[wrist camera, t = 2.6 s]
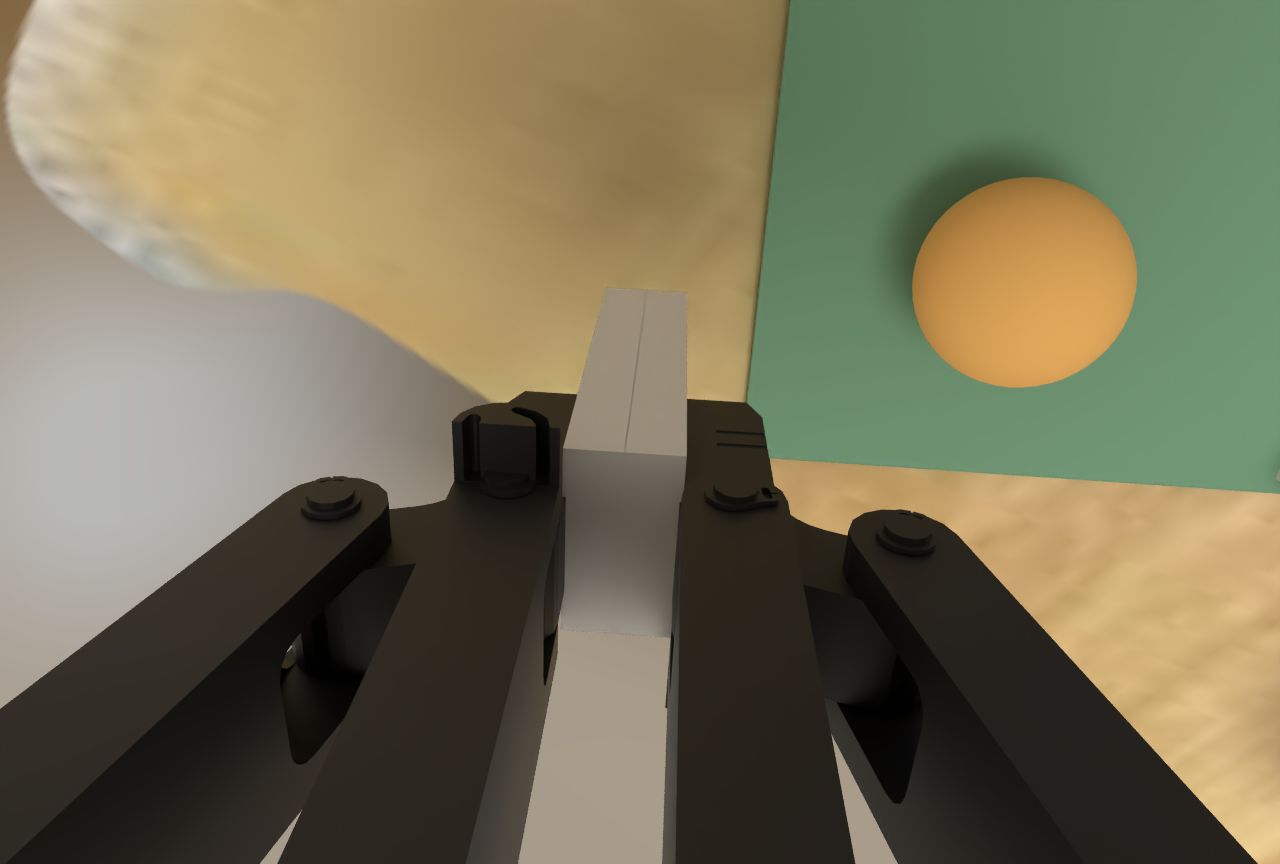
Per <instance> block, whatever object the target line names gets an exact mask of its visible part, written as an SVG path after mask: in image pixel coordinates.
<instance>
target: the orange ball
mask: <svg viewBox="0 0 1280 864" xmlns="http://www.w3.org/2000/svg"><path fill="white" fill-rule="evenodd" d="M1136 286H1137V265H1136V259H1135V255H1134V250H1133V246H1132V244H1131V241H1130V239H1129V236H1128V234H1127V232H1126V231H1125V229H1124V227H1123V226H1122V224H1121V222H1120V221H1119V219H1118V218H1117V217H1116V215H1115V214H1114V213H1113V212H1112V211H1111V209H1109V208H1108V207H1107V206H1106V205H1105V204H1104V203H1103V202H1101V201H1100V200H1099V199H1098V198H1097V197H1095V196H1094V195H1092V194H1090V193H1089V192H1087V191H1086V190H1084V189H1081V188H1079V187H1077V186H1075V185H1072V184H1069V183H1067V182H1063V181H1059V180H1056V179H1050V178H1042V177H1021V178H1013V179H1007V180H1003V181H999V182H995V183H992V184H990V185H987V186H984V187H982V188H980V189H978V190H976V191H974V192H972V193H970V194H968V195H967V196H965V197H964V198H963V199H961V200H960V201H958V202H957V203H955V204H954V205H953V206H952V207H951V208H950V209H949V210H947V211H946V212H945V213H944V214H943V215H942V217H941V218H940V219H939V220H938V221H937V222H936V223H935V225H934V226H933V228H932V229H931V231H930V232H929V233H928V235H927V237H926V239H925V241H924V242H923V244H922V246H921V249H920V251H919V254H918V256H917V259H916V263H915V267H914V272H913V281H912V293H913V304H914V310H915V314H916V317H917V320H918V323H919V325H920V328H921V330H922V332H923V334H924V336H925V338H926V339H927V341H928V342H929V344H930V345H931V346H932V348H933V349H934V350H935V351H936V352H937V353H938V355H939V356H940V357H941V358H942V359H943V360H944V361H945V362H947V363H948V364H949V365H951V366H952V367H953V368H955V369H956V370H958V371H960V372H961V373H963V374H965V375H966V376H968V377H970V378H973V379H975V380H978V381H980V382H984V383H988V384H992V385H996V386H1002V387H1010V388H1024V387H1033V386H1040V385H1045V384H1049V383H1053V382H1056V381H1059V380H1062V379H1065V378H1067V377H1069V376H1071V375H1073V374H1075V373H1077V372H1079V371H1080V370H1082V369H1084V368H1085V367H1087V366H1088V365H1090V364H1091V363H1092V362H1094V361H1095V360H1096V359H1097V358H1099V357H1100V356H1101V355H1102V354H1103V353H1104V352H1105V351H1106V350H1107V349H1108V348H1109V347H1110V345H1111V344H1112V343H1113V342H1114V341H1115V339H1116V338H1117V336H1118V335H1119V333H1120V332H1121V330H1122V329H1123V327H1124V325H1125V323H1126V321H1127V319H1128V317H1129V314H1130V311H1131V309H1132V306H1133V302H1134V298H1135V293H1136Z"/></svg>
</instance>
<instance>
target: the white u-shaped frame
mask: <svg viewBox="0 0 1280 864" xmlns="http://www.w3.org/2000/svg"><path fill="white" fill-rule="evenodd" d="M1276 479H1277V480H1278V481H1280V469H1279V471H1278V474H1277V476H1276Z"/></svg>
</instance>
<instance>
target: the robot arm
mask: <svg viewBox="0 0 1280 864" xmlns="http://www.w3.org/2000/svg"><path fill="white" fill-rule="evenodd" d="M452 435H453V456H454V476H455V477H454V480H455V481H454V483H453V485H452V487H451V489H450V492H449V494H448V496H447V498H446V500H443V501H440V502H437V503H433V504H428V505H422V506H416V507H407V508H398V509H389V503H388V497H387V492H386V491H385V490H384V489H382V488H381V487H380V486H379V485H378V484H376V483H373V482H369V481H367V480H364V479H358V478H347V477H344V476H338V477H336V476H334V477H333V478H330V477H326V478H320V479H317V480H315V481H312V482H308V483H305V484H301V485H299V486H297V487H295V488H293V489H291V490H289V491H288V492H286V493H284V494H283V495H281V496H280V497H279V498H277V499H276V500H275V501H273V502H272V503H271V504H269V505H268V506H267V507H265V508H264V509H263V510H261V511H260V512H259V513H258V514H256V515H255V516H254V517H252V518H251V519H250V520H248V521H247V522H246V523H245V524H243V525H242V526H240V527H239V528H238V529H236V530H235V531H234V532H233V533H231V534H230V535H229V536H227V537H226V538H225V539H223V540H222V541H221V542H220V543H218V544H217V545H215V546H214V547H213V548H211V549H210V550H209V551H208V552H206V553H205V554H204V555H202V556H201V557H200V558H198V559H197V560H196V561H194V562H193V563H192V564H190V565H189V566H188V567H186V568H185V569H184V570H183V571H181V572H180V573H179V574H177V575H176V576H175V577H173V578H172V579H171V580H169V581H168V582H167V583H165V584H164V585H163V586H161V587H160V588H159V589H158V590H156V591H155V592H154V593H152V594H151V595H150V596H148V597H147V598H146V599H144V600H143V601H142V602H140V603H139V604H138V605H136V606H135V607H134V608H133V609H131V610H130V611H129V612H127V613H126V614H125V615H123V616H122V617H121V618H119V619H118V620H117V621H115V622H114V623H113V624H111V625H110V626H109V627H108V628H106V629H105V630H104V631H102V632H101V633H100V634H98V635H97V636H96V637H95V638H93V639H92V640H90V641H89V642H88V643H86V644H85V645H84V646H83V647H81V648H80V649H79V650H77V651H76V652H75V653H73V654H72V655H71V656H69V657H68V658H67V659H65V660H64V661H63V662H62V663H60V664H59V665H58V666H56V667H55V668H54V669H52V670H51V671H50V672H48V673H47V674H46V675H44V676H43V677H42V678H40V679H39V680H38V681H36V682H35V683H34V684H33V685H31V686H30V687H29V688H27V689H26V690H25V691H23V692H22V693H21V694H19V695H18V696H17V697H16V698H14V699H13V700H11V701H10V702H9V703H8V704H6V705H5V706H4V707H2V708H1V709H0V864H260V862H261V861H262V860H263V859H264V857H265V856H266V855H267V854H268V852H269V851H270V850H271V848H272V847H273V846H274V845H275V843H276V842H277V841H278V839H279V838H280V837H281V836H282V834H283V833H284V832H285V831H286V829H287V828H288V826H289V825H290V824H291V823H292V821H293V820H294V819H295V818H296V816H297V815H298V814H299V813H300V811H301V810H302V811H301V814H300V816H299V818H298V820H297V822H296V824H295V827H294V829H293V831H292V833H291V835H290V837H289V840H288V842H287V844H286V846H285V848H284V851H283V853H282V855H281V857H280V859H279V861H278V864H518V860H519V854H520V849H521V844H522V839H523V833H524V827H525V823H526V817H527V812H528V807H529V802H530V796H531V791H532V786H533V780H534V775H535V770H536V765H537V760H538V754H539V749H540V744H541V739H542V733H543V728H544V723H545V718H546V712H547V706H548V702H549V696H550V691H551V686H552V681H553V675H554V670H555V664H556V660H557V652H558V651H557V649H558V648H557V647H558V619H559V615H560V610H561V630H567V631H582V632H597V633H612V634H626V635H640V636H656V637H670V638H671V642H670V656H669V667H668V681H667V694H666V706H665V707H666V708H667V738H666V767H665V799H664V828H663V829H664V830H663V860H662V864H855V860H854V855H853V849H852V844H851V838H850V833H849V827H848V822H847V817H846V812H845V806H844V800H843V795H842V790H841V784H840V779H839V773H838V768H837V763H836V757H835V752H834V747H833V741H832V736H833V738H834V740H835V742H836V744H837V745H838V747H839V749H840V751H841V753H842V755H843V757H844V759H845V761H846V763H847V765H848V767H849V769H850V770H851V773H852V775H853V777H854V779H855V781H856V783H857V785H858V786H859V789H860V790H861V792H862V794H863V796H864V798H865V800H866V802H867V804H868V806H869V808H870V810H871V812H872V814H873V816H874V818H875V820H876V822H877V824H878V826H879V828H880V830H881V832H882V833H883V835H884V837H885V839H886V841H887V843H888V845H889V847H890V849H891V851H892V853H893V855H894V857H895V859H896V861H897V863H898V864H1257V862H1256V861H1255V860H1254V859H1253V858H1252V857H1251V856H1250V855H1249V854H1248V853H1247V852H1246V850H1245V849H1244V848H1243V847H1242V846H1241V845H1240V844H1239V843H1238V842H1237V841H1236V839H1235V838H1234V837H1233V836H1232V835H1231V834H1230V833H1229V832H1228V831H1227V830H1226V829H1225V827H1224V826H1223V825H1222V824H1221V823H1220V822H1219V821H1218V820H1217V819H1216V818H1215V816H1214V815H1213V814H1212V813H1211V812H1210V811H1209V810H1208V809H1207V808H1206V807H1205V806H1204V804H1203V803H1202V802H1201V801H1200V800H1199V799H1198V798H1197V797H1196V796H1195V795H1194V793H1193V792H1192V791H1191V790H1190V789H1189V788H1188V787H1187V786H1186V785H1185V784H1184V783H1183V781H1182V780H1181V779H1180V778H1179V777H1178V776H1177V775H1176V774H1175V773H1174V772H1173V770H1172V769H1171V768H1170V767H1169V766H1168V765H1167V764H1166V763H1165V762H1164V761H1163V760H1162V758H1161V757H1160V756H1159V755H1158V754H1157V753H1156V752H1155V751H1154V750H1153V749H1152V747H1151V746H1150V745H1149V744H1148V743H1147V742H1146V741H1145V740H1144V739H1143V738H1142V737H1141V735H1140V734H1139V733H1138V732H1137V731H1136V730H1135V729H1134V728H1133V727H1132V726H1131V724H1130V723H1129V722H1128V721H1127V720H1126V719H1125V718H1124V717H1123V716H1122V715H1121V714H1120V712H1119V711H1118V710H1117V709H1116V708H1115V707H1114V706H1113V705H1112V704H1111V703H1110V701H1109V700H1108V699H1107V698H1106V697H1105V696H1104V695H1103V694H1102V693H1101V692H1100V691H1099V689H1098V688H1097V687H1096V686H1095V685H1094V684H1093V683H1092V682H1091V681H1090V680H1089V678H1088V677H1087V676H1086V675H1085V674H1084V673H1083V672H1082V671H1081V670H1080V669H1079V668H1078V666H1077V665H1076V664H1075V663H1074V662H1073V661H1072V660H1071V659H1070V658H1069V657H1068V656H1067V654H1066V653H1065V652H1064V651H1063V650H1062V649H1061V648H1060V647H1059V646H1058V645H1057V643H1056V642H1055V641H1054V640H1053V639H1052V638H1051V637H1050V636H1049V635H1048V634H1047V633H1046V631H1045V630H1044V629H1043V628H1042V627H1041V626H1040V625H1039V624H1038V623H1037V622H1036V620H1035V619H1034V618H1033V617H1032V616H1031V615H1030V614H1029V613H1028V612H1027V611H1026V610H1025V608H1024V607H1023V606H1022V605H1021V604H1020V603H1019V602H1018V601H1017V600H1016V599H1015V597H1014V596H1013V595H1012V594H1011V593H1010V592H1009V591H1008V590H1007V589H1006V588H1005V587H1004V585H1003V584H1002V583H1001V582H1000V581H999V580H998V579H997V578H996V577H995V576H994V574H993V573H992V572H991V571H990V570H989V569H988V568H987V567H986V566H985V565H984V564H983V562H982V561H981V560H980V559H979V558H978V557H977V556H976V555H975V554H974V553H973V551H972V550H971V549H970V548H969V547H968V546H967V545H966V544H965V543H964V542H963V541H962V539H961V538H960V537H959V536H958V535H957V534H956V533H954V532H953V531H952V530H950V529H949V528H948V527H947V526H945V525H944V524H942V523H940V522H938V521H935V520H933V519H931V518H929V517H927V516H925V515H923V514H920V513H916V512H913V513H911V511H907V510H877V511H872V512H867V513H864V514H862V515H860V516H859V517H857V518H855V519H854V520H853V521H852V523H851V526H850V528H849V531H848V536H847V535H842V534H838V533H834V532H830V531H826V530H823V529H820V528H817V527H813V526H810V525H808V524H806V523H804V522H802V521H800V520H798V519H796V518H794V517H793V516H792V515H790V510H789V505H788V501H787V499H786V497H785V496H784V494H783V492H782V491H781V490H779V489H778V488H777V487H775V486H774V482H773V477H772V471H771V465H770V459H769V453H768V449H767V441H766V436H765V430H764V424H763V418H762V417H761V416H760V415H759V414H758V413H757V412H756V411H755V410H754V409H753V408H752V407H751V406H750V405H749V404H748V403H742V402H727V401H711V400H695V399H687V292H671V291H654V290H638V289H621V288H606V290H605V294H604V298H603V301H602V305H601V309H600V312H599V316H598V320H597V324H596V327H595V331H594V335H593V338H592V342H591V346H590V350H589V353H588V357H587V361H586V364H585V368H584V372H583V376H582V379H581V383H580V387H579V391H578V394H561V393H546V392H530V391H525V392H523V393H522V394H520V395H519V396H517V397H516V398H514V399H513V400H511V401H510V402H508V403H492V404H487V405H481V406H476V407H473V408H471V409H469V410H466V411H464V412H462V413H460V414H459V415H458V416H457V417H456V418H455V419H454V420H453V421H452ZM291 645H292V648H291V649H290V650H289V651H288V652H287V650H288V649H289V648H290V646H291ZM831 734H832V736H831Z"/></svg>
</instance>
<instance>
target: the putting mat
mask: <svg viewBox="0 0 1280 864" xmlns="http://www.w3.org/2000/svg"><path fill="white" fill-rule="evenodd" d="M1021 177H1042V178H1050V179H1056V180H1059V181H1063V182H1067V183H1069V184H1072V185H1075V186H1077V187H1079V188H1081V189H1084V190H1086V191H1087V192H1089V193H1090V194H1092V195H1094V196H1095V197H1097V198H1098V199H1099V200H1100V201H1101V202H1103V203H1104V204H1105V205H1106V206H1107V207H1108V208H1109V209H1111V211H1112V212H1113V213H1114V214H1115V215H1116V217H1117V218H1118V219H1119V221H1120V222H1121V224H1122V226H1123V227H1124V229H1125V231H1126V232H1127V234H1128V236H1129V239H1130V241H1131V244H1132V246H1133V250H1134V255H1135V259H1136V265H1137V286H1136V293H1135V298H1134V302H1133V306H1132V309H1131V311H1130V314H1129V317H1128V319H1127V321H1126V323H1125V325H1124V327H1123V329H1122V330H1121V332H1120V333H1119V335H1118V336H1117V338H1116V339H1115V341H1114V342H1113V343H1112V344H1111V345H1110V347H1109V348H1108V349H1107V350H1106V351H1105V352H1104V353H1103V354H1102V355H1101V356H1100V357H1099V358H1097V359H1096V360H1095V361H1094V362H1092V363H1091V364H1090V365H1088V366H1087V367H1085V368H1084V369H1082V370H1080V371H1079V372H1077V373H1075V374H1073V375H1071V376H1069V377H1067V378H1065V379H1062V380H1059V381H1056V382H1053V383H1049V384H1045V385H1040V386H1033V387H1024V388H1010V387H1002V386H996V385H992V384H988V383H984V382H980V381H978V380H975V379H973V378H970V377H968V376H966V375H965V374H963V373H961V372H960V371H958V370H956V369H955V368H953V367H952V366H951V365H949V364H948V363H947V362H945V361H944V360H943V359H942V358H941V357H940V356H939V355H938V353H937V352H936V351H935V350H934V349H933V348H932V346H931V345H930V344H929V342H928V341H927V339H926V338H925V336H924V334H923V332H922V330H921V328H920V325H919V323H918V320H917V317H916V314H915V310H914V304H913V293H912V281H913V272H914V267H915V263H916V259H917V256H918V254H919V251H920V249H921V246H922V244H923V242H924V241H925V239H926V237H927V235H928V233H929V232H930V231H931V229H932V228H933V226H934V225H935V223H936V222H937V221H938V220H939V219H940V218H941V217H942V215H943V214H944V213H945V212H946V211H947V210H949V209H950V208H951V207H952V206H953V205H954V204H955V203H957V202H958V201H960V200H961V199H963V198H964V197H965V196H967V195H968V194H970V193H972V192H974V191H976V190H978V189H980V188H982V187H984V186H987V185H990V184H992V183H995V182H999V181H1003V180H1007V179H1013V178H1021ZM746 403H748V404H749V405H750V406H751V407H752V408H753V409H754V410H755V411H756V412H757V413H758V414H759V415H760V416H761V417H762V418H763V424H764V430H765V436H766V441H767V449H768V453H769V458H774V459H788V460H803V461H817V462H831V463H846V464H860V465H875V466H889V467H903V468H918V469H932V470H947V471H961V472H975V473H990V474H1004V475H1019V476H1033V477H1047V478H1062V479H1076V480H1091V481H1105V482H1119V483H1134V484H1148V485H1163V486H1177V487H1191V488H1206V489H1220V490H1235V491H1249V492H1263V493H1278V494H1280V481H1278V480H1277V479H1276V476H1277V474H1278V471H1279V469H1280V0H790V1H789V11H788V20H787V29H786V38H785V48H784V57H783V66H782V75H781V84H780V94H779V103H778V112H777V121H776V131H775V140H774V149H773V158H772V168H771V177H770V186H769V195H768V204H767V214H766V223H765V232H764V241H763V251H762V260H761V269H760V278H759V288H758V297H757V306H756V315H755V324H754V334H753V343H752V352H751V361H750V371H749V380H748V389H747V398H746Z"/></svg>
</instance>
